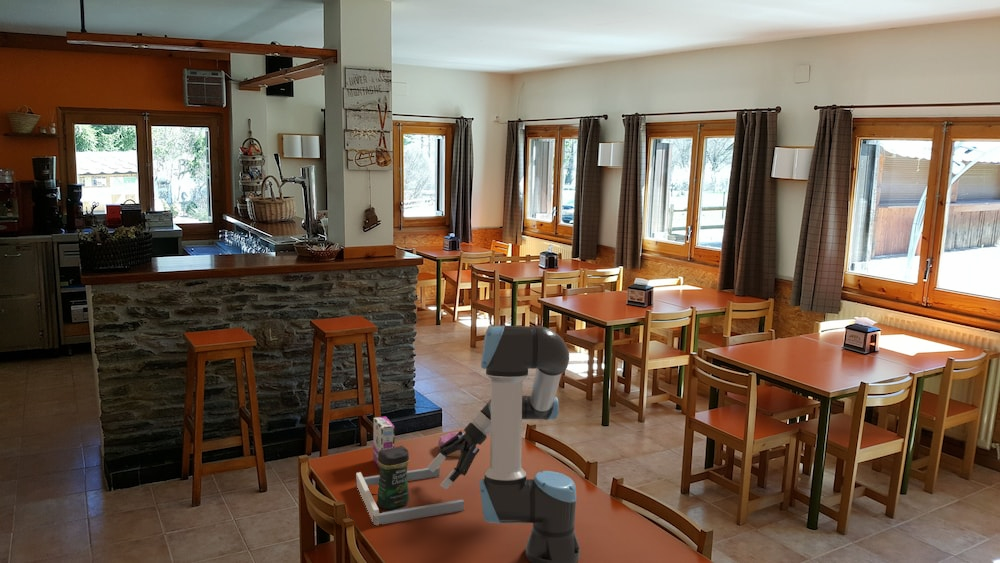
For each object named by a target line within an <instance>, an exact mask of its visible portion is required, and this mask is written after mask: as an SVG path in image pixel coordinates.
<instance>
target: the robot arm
mask: <svg viewBox="0 0 1000 563" xmlns="http://www.w3.org/2000/svg"><path fill="white" fill-rule="evenodd" d="M569 362H570V351H569V349H568V346H567V343H566V342H565V340H564V339H563V338H562V337H561V336H560V335H559V334H558V333H557V332H555V331H554V330H552V329H550V328H549V327H545V326H537V325H536V326H532V325H531V326H525V325H524V326H522V325H496V326H494V325H493V326H489V327H488V328H487V329H486V331H485V334H484V338H483V344H482V352H481V361H480V367H481V369H484V370H485V375H486V377H487V378H488V379H489V380H490V382H491V383H490V385H491V386H490V387H491V388H490V390H491V391H490V399H489V400H488V402H486V404H485V405H484V406H483V407H482V409H481V410H479V412H478V413H477V414H476V415H475V416H474V417H473V418H472V420H471V422H469V423H468V424H467V426H466V427H465V428H464V430H463V431H464V433H465V434H464V433H463V431H462V430H460V431H459V432H458V434H457V435H456V436H454V437H453V438H451V439H450V440H448V441H447V442H445V443H444V444H443V445H441V446H440V447H438V449H439V448H440V449H439V453H438V454H437V455H436V456H435V457H434V459H433V460H432V461H431V462H430V463H429V464H428V465H427V467H426V468H428V469H429V470H430V471H432V472H434V471H435V470H436V469H437V468H438V467H440V466H441V464H442V463H444V461H445V460H446V458H448V455H449V454H451V453H453V452H455V451H457V450H461V451H460V452H461V455H460V457H458V461H457V464H456V467H454V468H453V469H452V470H451V471H450V472H449V473H448V475H447V476H446V477H445V478H444V479H443V480H442V482H441V483H440V484H439V485H440V486H441V487H442V489H445V491H447V490H448V488H450V486H452V484H453V483H454V482H455V481H456V480H457V479H458V478H459V477H460V476H461V475H462V476H466V475H467V473H468V471H469V469H470V468H471V465H472V464H473V462H474V460H475V458H476V455H477V454H478V453H479V451H480V449H479V447H477V445H479V446H481V445H482V444H483V443H484V442H485V441H486V439H487V438H488V437H487V435H488V436H489V435H490V449H489V450H490V451H489V453H490V455H489V458H490V460H489V464H490V465H489V467H488V469H486V471H484V478H480V479H479V481H478V482H479V489H480V491H479V492H480V499H481V500H480V501H481V508H482V515H483V516H482V517H483V520H484V521H485V522H487V523H488V524H489V523H490V524H499V525H502V524H532V529H531V531H530V534H529V537H528V540H527V541H526V544H525V557H526V559H527V560H528V561H529V563H578V562H579V561H580V553H581V552H580V551H581V550H580V545H579V542H578V538H577V535H576V532H575V522H576V503H577V497H578V496H577V486H576V483H575V482H574V480H573V479H572V478H571V477H569V476H567V474H566V475H565V474H564V473H561V472H557V471H552V470H542V471H539V472H537V473H535V475H534V477H533V478H530V479H529V478H528V479H527V472H526V471H525V470H524V469H523V468H522V438H523V437H522V434H523V433H522V428H523V426H522V425H523V424H522V422H523V420H543V421H548V420H556V419H557V418H558V417H559V411H560V407H559V406H560V404H559V402H560V401H559V399H558V396H556V395H557V393H558V392H557V391H558V388H559V384H560V381H561V377H562V374H563V373H564V372H565V371H566V370H567V368H568V366H569ZM529 369H534V370H535V374H534V379H533V383H532V388H531V392H530V395H523V382H524V380H525V379H526V378H527V377H528V376H529ZM444 447H445V448H444ZM467 452H468V453H467Z"/></svg>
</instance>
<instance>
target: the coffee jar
mask: <svg viewBox="0 0 1000 563" xmlns="http://www.w3.org/2000/svg"><path fill="white" fill-rule="evenodd" d="M378 455H379V456H378V464H379V467H380V469H379V475H380V479H379V488H378V494H377V500H376V501H377V505H379V507H381V508H383V509H386V510H393V509H398V508H402V507H404V506H406V505H408V503H409V500H410V497H409V496H410V494H409V485H408V481H407V471H408V465H409V462H410V454H409V450H408V449H407V448H406V447H405V446H403V445H399V446H394V448H390V449H385V450H380V451H379V454H378ZM379 467H378V468H379Z"/></svg>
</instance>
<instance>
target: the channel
mask: <svg viewBox="0 0 1000 563" xmlns="http://www.w3.org/2000/svg"><path fill="white" fill-rule="evenodd" d="M440 470H441V468H440V466H438V468H437V469H436V470H435V471H434V472H432V471H430V470H429V469H428V468H427V467H425V468H419V469H413V470H407V482H410V481H417V480H423V479H430V478H431V479H432V478H437V477H440V476H441V475H440ZM355 477H356V478H355V480H356V481H355V482H356V483H355V484H356V485H357V487H356V489H357V488H358V489H357V491H358V490H359V492H360V494H359V495H361V496H360V498H361V497H362V498H361V500H362V499H363V500H362V502H363V501H364V503H365V505H366V507H365V509H366V508H367V509H366V511H367V510H368V511H367V513H368V512H369V514H368V516H369V515H370V516H369V518H370V517H371V518H370V520H371V519H372V520H371V522H373V523H372V524H374V525H376V526H380V525H379V524H382V525H387V524H393V523H397V522H398V523H399V522H404V521H409V520H416V519H422V518H427V517H433V516H438V515H439V516H440V515H444V514H450V513H451V514H452V513H456V512H461V511H465V501H464V499H462V498H461V499H457V500H450V501H445V502H443V501H442V502H438V503H433V504H425V505H422V506H421V505H420V506H413V507H412V508H407V509H401V510H395V511H389V512H383V513H380V509H379V507H378V504H377V503H376V501H375V499H374V497H373V496H374V495H372V494H371V492H370V490H369V488H368V486H370V485H377V484H378V485H379V479H380V474H377V475H370V476H363V473H362V472H361V471H359V472H356V474H355ZM356 485H355V486H356ZM359 492H358V493H359ZM364 503H363V504H364ZM365 505H364V506H365ZM374 525H373V526H374Z"/></svg>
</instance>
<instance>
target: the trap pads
mask: <svg viewBox="0 0 1000 563" xmlns="http://www.w3.org/2000/svg"><path fill="white" fill-rule="evenodd" d="M407 508H413V507H412V506H407V507H398V508H393V509H386V510H383V511H380V512H382V513H383V512H389V511H395V510H401V509H407Z"/></svg>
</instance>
